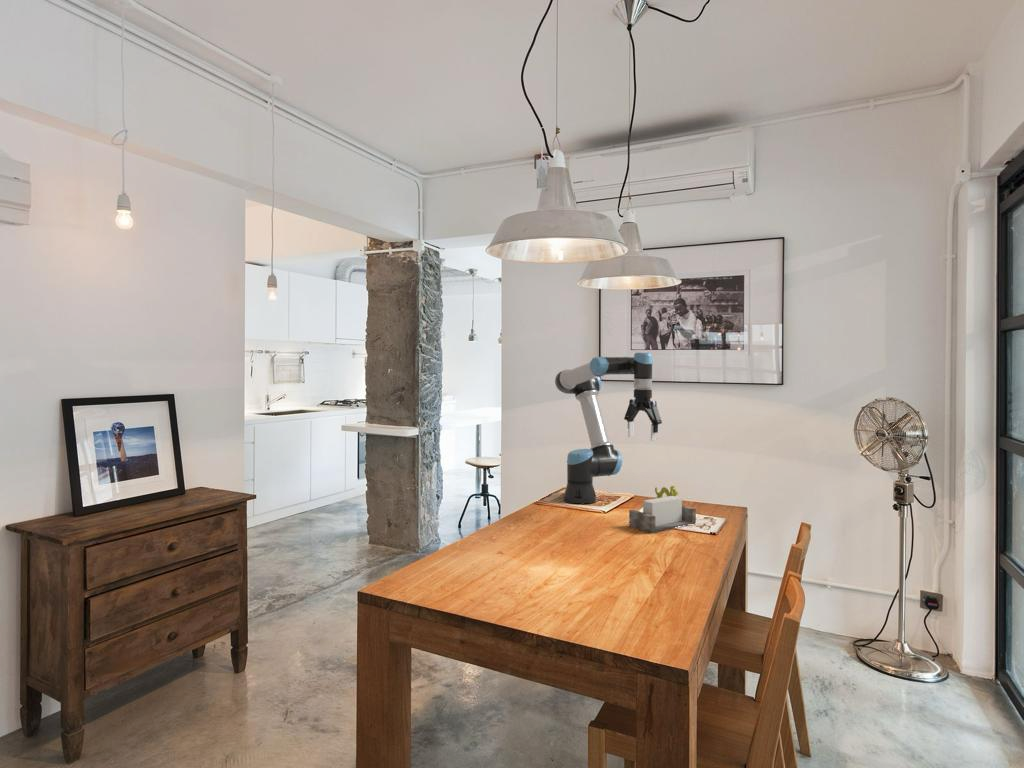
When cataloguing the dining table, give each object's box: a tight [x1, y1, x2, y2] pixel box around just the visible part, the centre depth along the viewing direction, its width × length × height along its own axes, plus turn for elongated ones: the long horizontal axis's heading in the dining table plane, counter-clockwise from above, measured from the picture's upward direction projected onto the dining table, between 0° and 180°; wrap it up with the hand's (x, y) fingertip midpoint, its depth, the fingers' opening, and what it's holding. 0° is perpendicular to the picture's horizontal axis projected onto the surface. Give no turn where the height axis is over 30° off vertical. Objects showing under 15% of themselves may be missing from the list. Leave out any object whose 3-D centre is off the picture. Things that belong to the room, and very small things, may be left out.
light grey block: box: [642, 496, 683, 526], centre depth 235 cm, size 5×16×9 cm, turn 122°
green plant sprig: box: [654, 485, 679, 498], centre depth 266 cm, size 18×5×10 cm, turn 19°
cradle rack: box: [628, 504, 697, 534], centre depth 235 cm, size 12×24×6 cm, turn 122°
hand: (642, 438), depth 255 cm, fingers open, 13 cm apart
